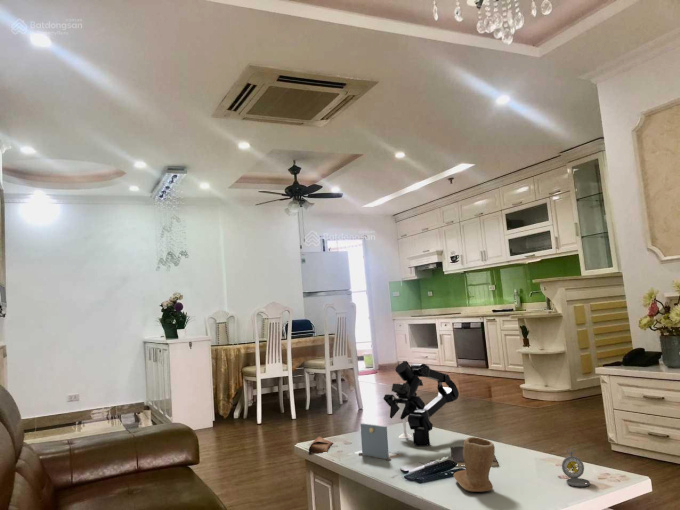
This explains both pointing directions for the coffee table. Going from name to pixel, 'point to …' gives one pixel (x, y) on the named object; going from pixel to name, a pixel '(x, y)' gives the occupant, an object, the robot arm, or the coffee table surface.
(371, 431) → the door
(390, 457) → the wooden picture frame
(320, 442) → the sunglasses case
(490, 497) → the coffee table surface
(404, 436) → the champagne flute
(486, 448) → the tan boot
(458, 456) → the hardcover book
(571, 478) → the pocket watch
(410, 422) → the robot arm
